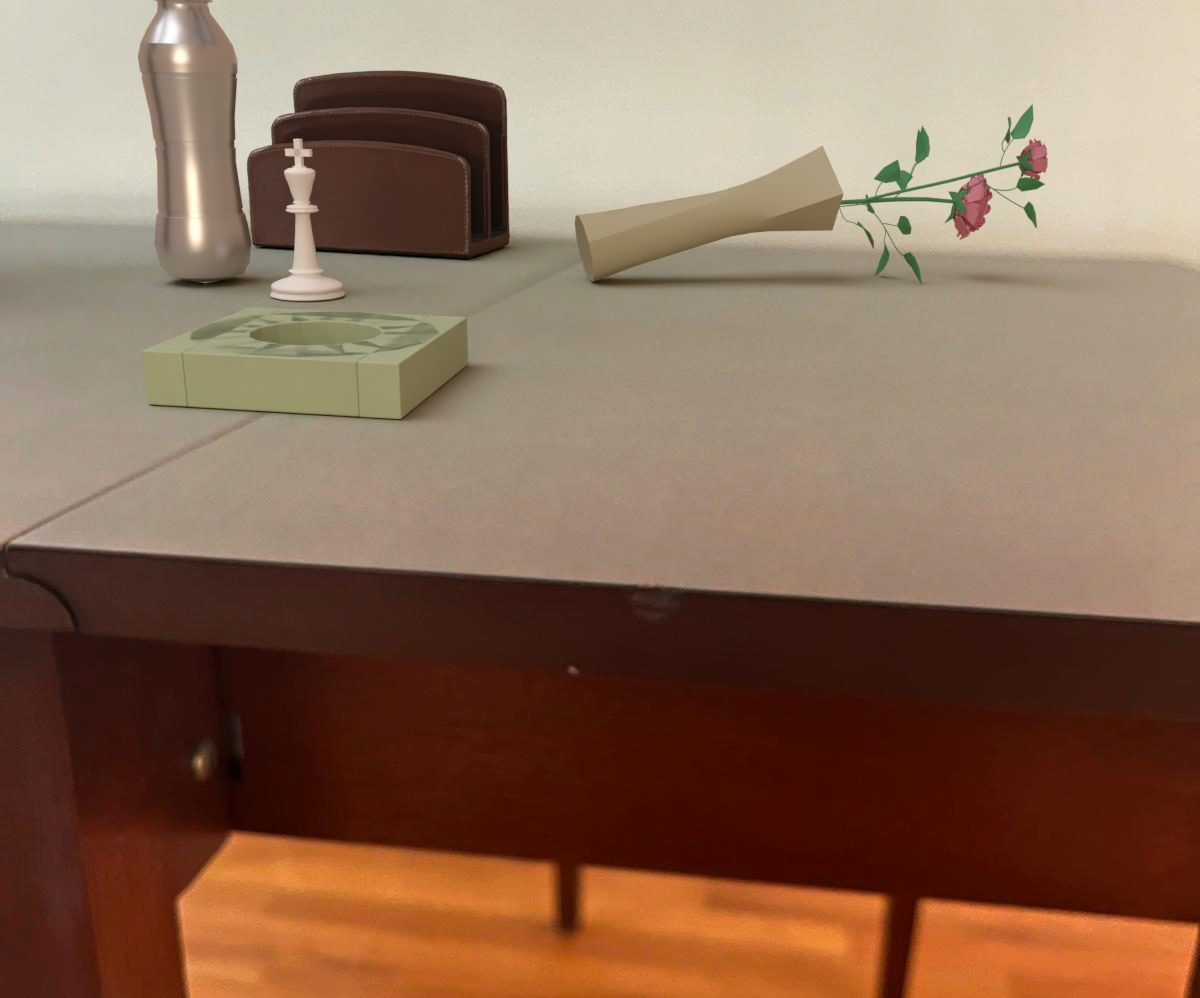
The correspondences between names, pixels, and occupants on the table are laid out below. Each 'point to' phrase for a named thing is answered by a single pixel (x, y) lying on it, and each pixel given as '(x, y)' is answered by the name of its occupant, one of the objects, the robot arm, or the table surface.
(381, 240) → the letter holder
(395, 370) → the green ashtray
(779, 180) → the flower vase
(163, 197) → the metallic bottle
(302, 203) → the chess piece
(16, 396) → the table surface
